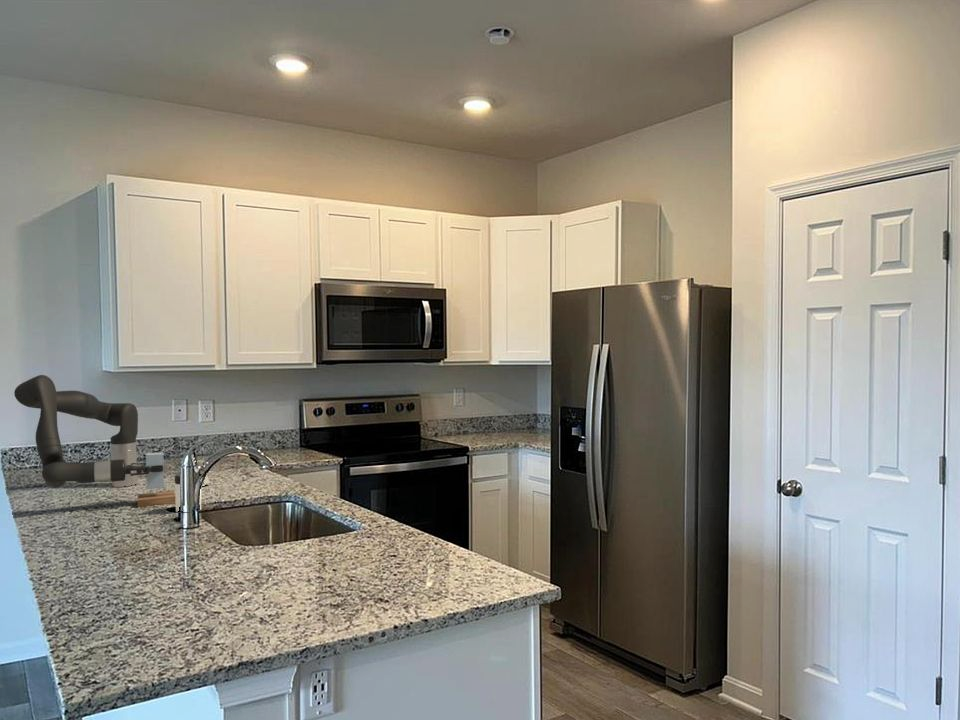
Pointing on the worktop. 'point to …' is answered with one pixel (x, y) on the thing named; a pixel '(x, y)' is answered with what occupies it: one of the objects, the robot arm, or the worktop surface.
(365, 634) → the worktop surface
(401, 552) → the worktop surface
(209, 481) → the flask
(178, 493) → the jar
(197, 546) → the worktop surface
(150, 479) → the pillar
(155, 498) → the slab
